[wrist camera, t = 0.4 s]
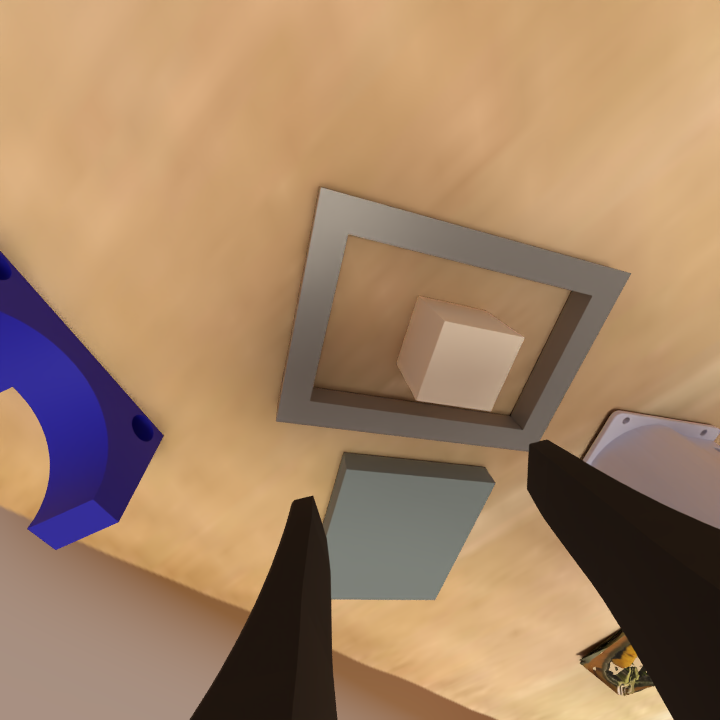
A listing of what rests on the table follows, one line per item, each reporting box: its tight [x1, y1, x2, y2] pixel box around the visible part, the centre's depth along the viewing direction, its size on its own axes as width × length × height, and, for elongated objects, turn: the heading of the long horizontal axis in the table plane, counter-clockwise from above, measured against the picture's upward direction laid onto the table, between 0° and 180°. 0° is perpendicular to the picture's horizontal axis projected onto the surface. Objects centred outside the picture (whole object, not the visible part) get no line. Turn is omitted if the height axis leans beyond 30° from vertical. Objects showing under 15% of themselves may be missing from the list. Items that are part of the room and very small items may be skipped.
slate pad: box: [323, 453, 495, 600], centre depth 26 cm, size 10×12×2 cm
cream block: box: [396, 296, 525, 411], centre depth 19 cm, size 4×4×4 cm
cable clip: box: [0, 251, 163, 550], centre depth 15 cm, size 12×4×6 cm, turn 23°
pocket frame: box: [276, 187, 631, 452], centre depth 20 cm, size 16×12×2 cm
